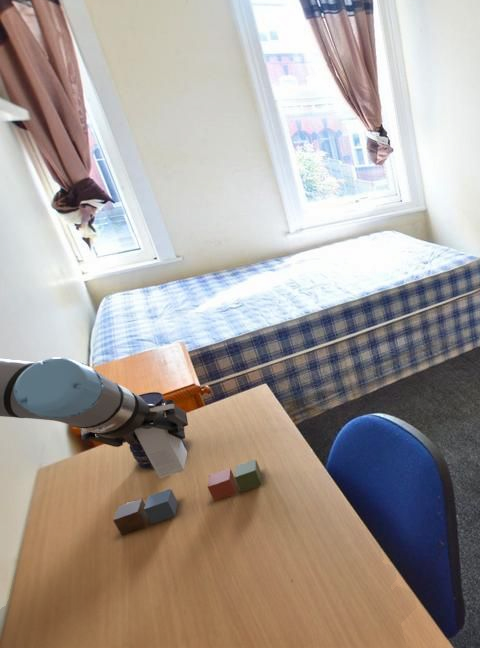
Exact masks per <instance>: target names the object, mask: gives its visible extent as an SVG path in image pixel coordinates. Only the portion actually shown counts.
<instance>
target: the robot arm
mask: <svg viewBox="0 0 480 648" xmlns="http://www.w3.org/2000/svg"><path fill="white" fill-rule="evenodd" d="M138 395H139V394H136V393H134V392H133V391H132V390H129V389H128V388H126V387H124V386H123V385H121V384H119V383H117V382H115V381H113V380H112V379H109V378H108V377H106V376H105V375H103V374H101V373H99V372H98V371H97V370H95V369H94V368H93V367H91V366H88V365H87V364H85V363H83V362H80V361H77V360H74V359H71V358H67V357H52V358H48V359H45V360H40V361H37V362H34V361H26V360H25V361H24V360H17V359H8V358H0V417H4V418H6V417H7V418H16V419H32V420H43V421H54V422H58V423H59V422H60V423H63V424H66V425H69V426H72V427H74V428H77V429H80V433H81V440H82V441H90V442H91V441H93V442H96V443H100V444H104V445H107V446H111V447H114V448H120V447H122V446H124V444H125V443H127V444H128V445H129V444H133V443H134V444H141V443H140V441H139V440H138V438H137V436H136V434H135V432H134V430H136V429H139V428H144V429H150V428H159V429H164V430H168V433H169V434H171V435H173V436H175V437H177V438H179V439H183V440H184V439H186V433H185V427H188V426H189V422H188V421H189V420H188V415H187V412H186V411H184V410H183V409H181V408H180V407H179V406H177V405H176V404H175V400H174V399H167V400H165V403H164V404H162V406H157V407H156V406H155V405H153V404H147V403H146V402H145V401H144V400H143V399H142V398H141V397H140V396H138Z"/></svg>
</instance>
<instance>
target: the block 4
mask: <svg viewBox="0 0 480 648" xmlns="http://www.w3.org/2000/svg"><path fill="white" fill-rule="evenodd" d="M234 478H235V480H236V485H237V486H238V489H239V491H240V493H241V492H245V491H248V490H251V489H253V488H256V487H259V486H261V485H262V471H261V469H260V466H259V463H258V461H257V459H252V460H250V461H246V462H244V463H241V464H237V465H236V466H235V469H234Z"/></svg>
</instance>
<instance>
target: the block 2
mask: <svg viewBox="0 0 480 648" xmlns="http://www.w3.org/2000/svg"><path fill="white" fill-rule="evenodd" d="M178 505H179V503H178V500H177V498H176V496H175V494H174V492H173V490H172V488H168V489H164V490H162V491H159V492H157V493H154V494H151V495H148V496H147V499H146V502H145V508H144V511H145V512H146V514H147V516H148V520H149V521H150V524H151V525H154V524H156V523H159V522H162V521H165V520H168V519H170V518H172V517H175V516H176V513H177V509H178Z"/></svg>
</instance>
